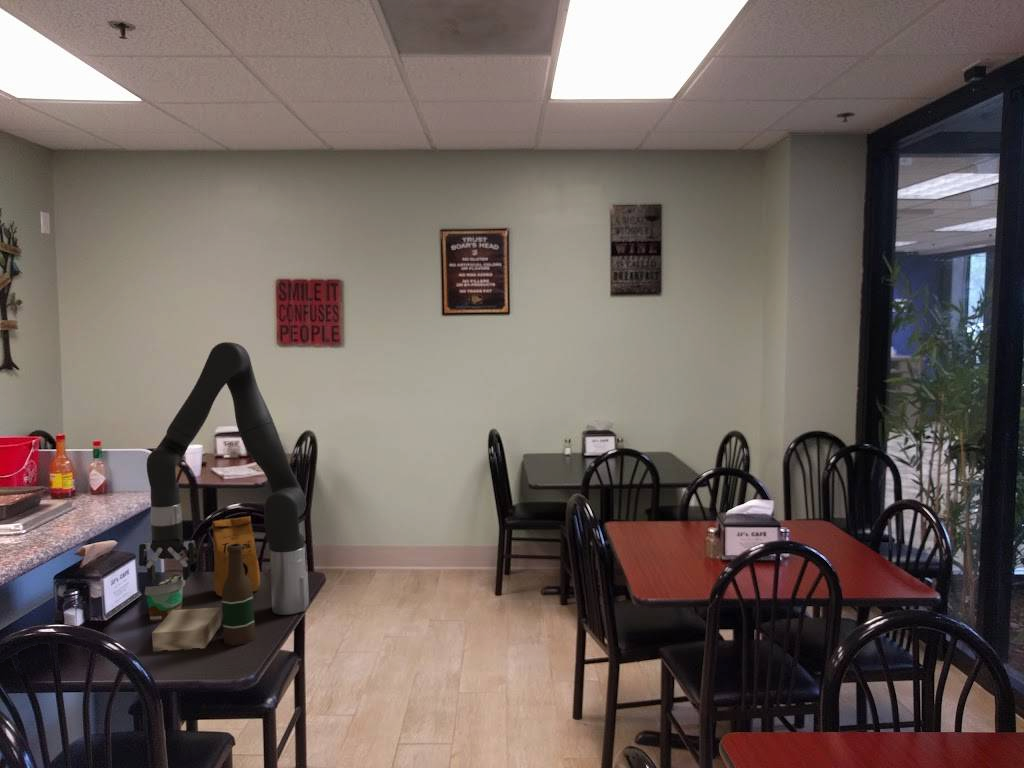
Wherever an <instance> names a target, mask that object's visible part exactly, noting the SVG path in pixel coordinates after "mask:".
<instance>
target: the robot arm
mask: <svg viewBox="0 0 1024 768" xmlns="http://www.w3.org/2000/svg"><path fill="white" fill-rule="evenodd" d="M226 385H227V388H228V391H230V395H231V398H232V402H233V409H234V417H235V423H236V426H237V427H236V429H237V430H238V433H239V436H240V439H241V440H242V443H243V446H244V449H245V450H246V453H248V455H249V456H250V457H251V458H250V459H252V461H254V462H255V464H256V465H257V466H258V467H259V469H260V470H261V471H262V472H263V474H264V475H265V478H266V479H267V481H268V485H269V487H270V490H271V495H269V496H268V497H267V499H266V500H265V502H264V505H263V506H264V507H263V518H264V520H263V521H264V529H265V538H266V542H267V543H268V551H269V569H270V586H271V587H270V590H271V606H272V607H271V610H272V612H273V614H276V615H280V616H288V615H295V614H298V613H303V612H306V611H307V609H308V607H309V604H310V596H309V595H310V594H309V593H310V592H309V576H308V575H309V573H308V572H309V571H308V570H306V566H307V565H306V548H305V545H306V544H305V536H304V535H303V534H302V533H301V532H300V525H299V522H300V521H299V518H300V517H301V516H302V515H303V514H304V513H305V510H306V507H307V499H306V496H305V492H304V491H303V489H302V487H301V485H300V483H299V481H298V479H297V477H296V475H295V474H294V472H293V470H292V468H291V465H290V463H289V459H288V456H287V454H286V451H285V449H284V446H283V443H282V441H281V439H280V438H281V437H280V435H279V432H278V430H277V428H276V425H275V421H274V419H273V417H272V415H271V413H270V410H269V409H268V405H267V404H266V403H267V402H266V401H265V399H264V398H263V395H262V393H261V391H260V389H259V386H258V383H257V380H256V376H255V373H254V370H253V365H252V361H251V357H250V355H249V352H248V351H247V349H246V348H245V347H244V346H243V345H241V344H240V343H239V344H238V343H235V342H228V341H225V342H220V343H218V344H216V345H214V346H213V348H211V350H210V351H209V354H208V356H207V359H206V361H205V363H204V366H203V368H202V370H201V373H200V375H199V377H198V379H197V381H196V383H195V385H194V386H193V388H192V390H191V392H190V394H189V395H188V397H187V399H186V400H185V401H184V403H183V404H182V406H181V407H180V409H179V411H178V412H177V413H176V415H175V416H174V418H173V419H172V421H171V423H170V424H169V426H168V427H167V430H166V434H165V435H164V437H163V438H162V440H161V441H160V443H159V444H158V445H157V447H156V448H155V449H154V450H153V451H151V452H150V453H149V454H148V457H147V460H146V473H147V479H148V483H149V487H150V520H149V521H150V531H151V533H150V534H151V542H147V541H143V542H141V543H140V544H139V546H138V547H139V548H138V565H139V567H145V568H146V571H147V572H146V573H147V579H148V580H149V582H155V580H156V565H155V563H156V562H157V560H158V559H160V560H165V559H169V560H173V559H175V560H176V561H177V562H180V564H181V565H182V576H183V580H185V581H187V580H188V579H189V578H190V577H191V565H194V564H195V563H196V562H197V561H198V552H197V544H196V543H197V542H196V540H195V539H192V540H191V541H185V540H184V539H183V535H184V534H183V518H182V517H183V514H182V513H183V512H182V506H181V493H180V490H181V489H180V486H179V483H178V482H177V475H176V468H177V467H178V465H179V464H180V463H181V461H182V459H183V458H184V455H185V454H186V452H187V450H188V448H189V446H190V445H191V443H192V442H193V441H194V440H195V438H196V436H197V435H198V433H199V432H200V430H201V429H202V428H203V426H204V424H205V422H206V421H207V418H208V417H209V414H210V412H211V410H212V408H213V404H214V402H215V401H216V399H217V397H218V395H219V393H220V392H221V391H222V389H223V388H224V387H225V386H226ZM184 547H185V549H186V550H187V551H188V556H187V554H186V552H184V551H183V549H184ZM150 549H151V550H152V551H153V552H154V554H153V555H152V556H151V557H150V560H148V551H150Z"/></svg>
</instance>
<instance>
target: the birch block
mask: <svg viewBox="0 0 1024 768" xmlns="http://www.w3.org/2000/svg"><path fill="white" fill-rule="evenodd" d="M221 626H222V608H221V607H220V606H219V607H204V608H203V607H202V608H190V609H189V608H188V609H182V610H172V611H171V612H170V613H169V615H168V616H167V617H166V618H165V619H164V620H163V621H162V622H159V625H157V626H156V628H155V629H154V630H153V631H152V632H151V636H152V651H153V652H163V651H162V650H168V651H182V650H181V649H184V650H193V649H192V648H200V649H206V647H207V646H208V644H209V643H210V642H211V640H212V639H213V637H214V636H215V634H216V633H217V631H218V630H219V629H220V628H221Z"/></svg>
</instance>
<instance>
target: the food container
mask: <svg viewBox="0 0 1024 768" xmlns="http://www.w3.org/2000/svg"><path fill="white" fill-rule="evenodd" d="M172 572H173V573H172V574H173V575H171V577H169V578H166V579H163V580H160V581H159V582H157V583H156V584H154V585H153V586H145V589H144V596H146V601H147V607H148V614H149V621H150V623H161V621H163V620H164V619H165V618H166V617H167V616H168V615H169V613H170V612H171V611H172V610H183V588H184V586H185V585H186V580H183V573H179V572H174V571H172Z"/></svg>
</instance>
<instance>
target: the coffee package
mask: <svg viewBox="0 0 1024 768" xmlns="http://www.w3.org/2000/svg"><path fill="white" fill-rule="evenodd" d="M211 528H212V530H213V533H212V534H213V537H212V540H213V543H212V544H213V558H214V569H213V585H214V587H213V588H214V592H215V594H216V595H217V596H219V597H222V588H223V585H224V582H225V581H226V579H227V577H228V551H227V547H228V545H231V544H236V543H237V544H241V545H242V550H241V552H242V560H243V569H244V573H245V575H246V577H247V578H248V579H249V580H250V583H251V585H252V591H253V592H258V591H259V588H260V584H261V582H260V581H261V573H260V565H259V561H258V556H257V549H256V546H255V537H254V532H253V527H252V518H251V515H249V516H241V517H236V518H235V517H234V518H227V519H220V520H219V519H218V520H212V524H211Z"/></svg>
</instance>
